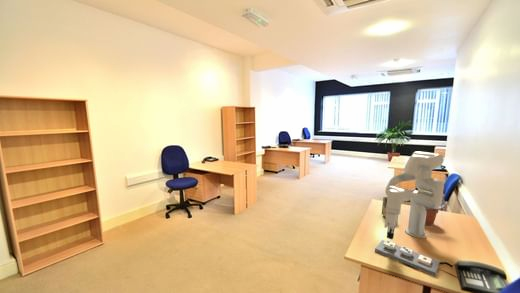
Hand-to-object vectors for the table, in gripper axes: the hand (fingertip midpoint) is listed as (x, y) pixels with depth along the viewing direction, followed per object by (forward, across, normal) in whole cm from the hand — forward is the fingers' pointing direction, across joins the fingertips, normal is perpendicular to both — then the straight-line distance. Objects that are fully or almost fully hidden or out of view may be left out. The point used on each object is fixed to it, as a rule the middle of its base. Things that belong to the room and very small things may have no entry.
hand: (389, 238), depth 137 cm
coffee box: (+8, -54, -15) cm, 56 cm away
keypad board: (+9, 0, +9) cm, 13 cm away
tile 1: (+8, 0, +18) cm, 20 cm away
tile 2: (+7, 0, 0) cm, 7 cm away
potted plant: (+8, -66, +8) cm, 66 cm away
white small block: (+7, 0, +9) cm, 12 cm away
